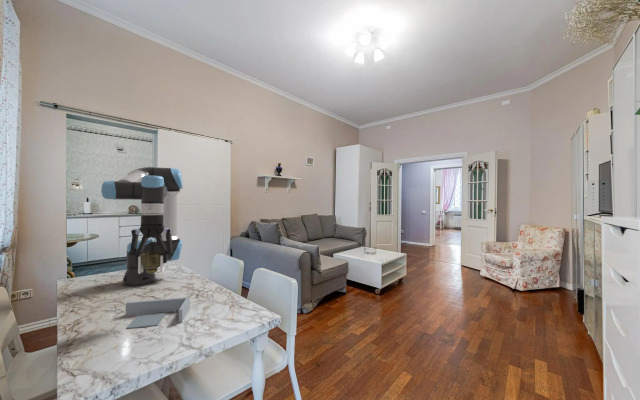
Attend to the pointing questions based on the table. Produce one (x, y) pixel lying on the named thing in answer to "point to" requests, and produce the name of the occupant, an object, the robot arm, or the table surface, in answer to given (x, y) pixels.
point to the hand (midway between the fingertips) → (151, 271)
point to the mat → (146, 320)
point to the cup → (151, 261)
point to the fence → (159, 306)
